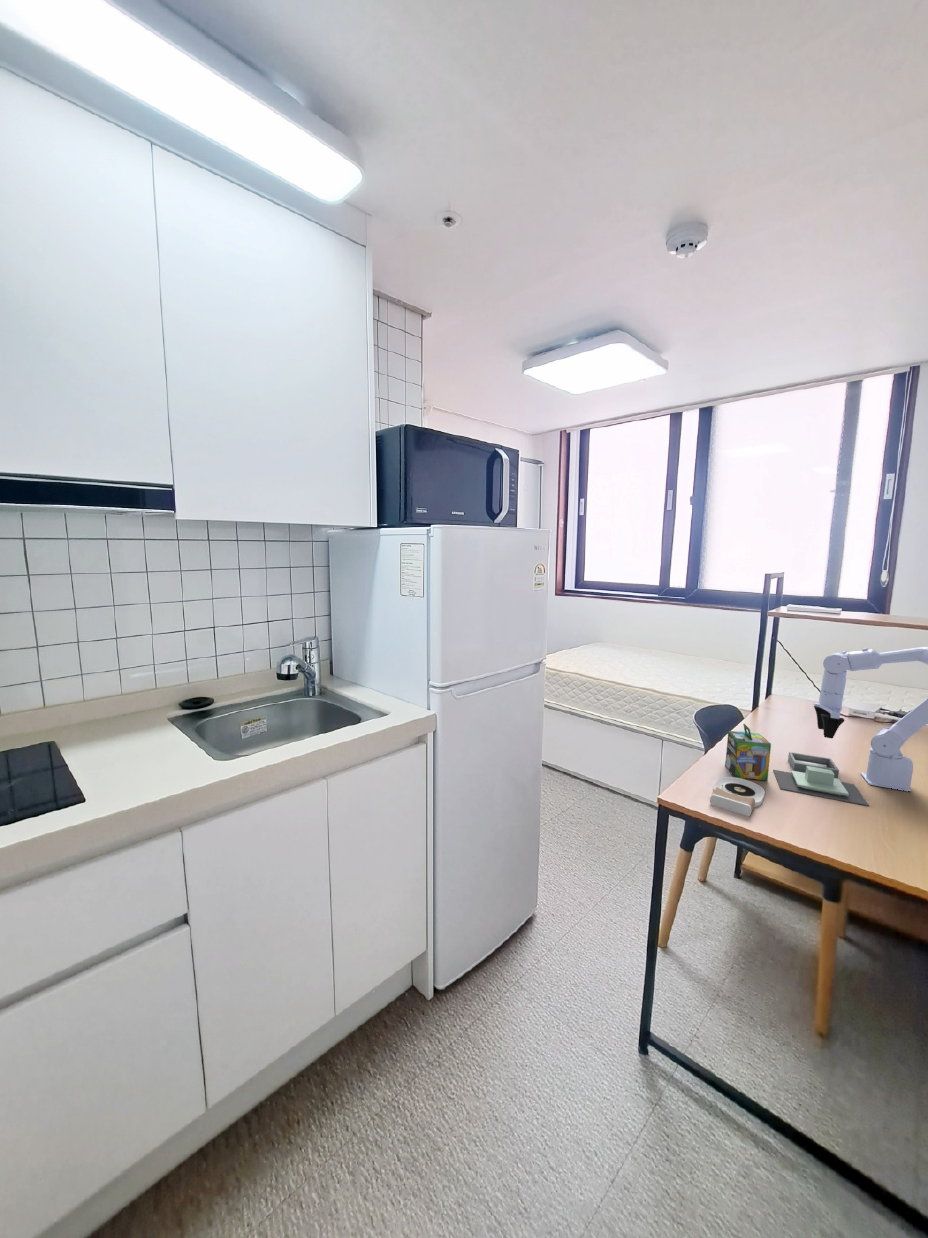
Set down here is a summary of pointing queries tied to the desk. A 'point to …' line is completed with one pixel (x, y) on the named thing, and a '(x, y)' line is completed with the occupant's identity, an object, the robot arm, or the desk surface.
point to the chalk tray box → (811, 763)
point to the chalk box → (748, 755)
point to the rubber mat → (789, 784)
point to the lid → (819, 781)
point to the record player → (737, 795)
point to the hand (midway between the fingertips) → (825, 733)
